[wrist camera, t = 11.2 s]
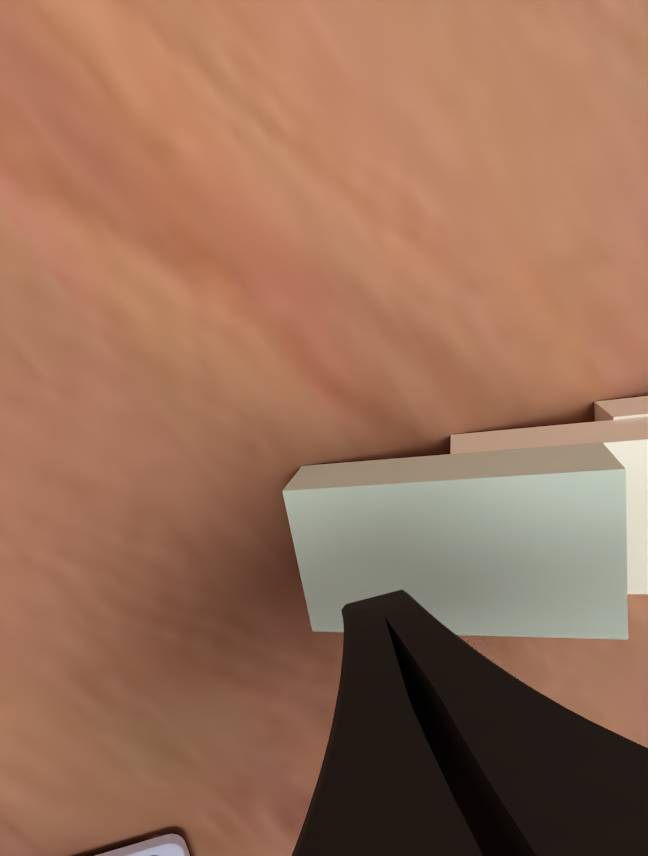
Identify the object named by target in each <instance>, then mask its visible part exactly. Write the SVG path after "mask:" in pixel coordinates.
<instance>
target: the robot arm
mask: <svg viewBox="0 0 648 856" xmlns="http://www.w3.org/2000/svg"><path fill="white" fill-rule="evenodd" d="M341 612H342V617H343V624H344V645H343V659H342V668H341V677H340V685H339V691H338V696H337V702H336V707H335V713H334V718H333V723H332V728H331V732H330V736H329V741H328V745H327V749H326V753H325V756H324V760H323V764H322V767H321V771H320V774H319V778H318V781H317V784H316V787H315V791H314V794H313V797H312V800H311V803H310V806H309V809H308V812H307V815H306V818H305V821H304V824H303V827H302V830H301V833H300V835H299V838H298V841H297V844H296V846H295V849H294V851H293V854H292V856H648V748H646V747H644V746H641V745H639V744H637V743H635V742H633V741H631V740H629V739H627V738H625V737H623V736H621V735H618V734H616V733H614V732H612V731H610V730H608V729H606V728H604V727H602V726H600V725H598V724H596V723H593V722H591V721H589V720H587V719H586V718H584V717H582V716H580V715H578V714H576V713H574V712H572V711H570V710H568V709H567V708H565V707H563V706H561V705H560V704H558V703H556V702H554V701H553V700H551V699H549V698H548V697H546V696H544V695H542V694H541V693H539V692H537V691H536V690H534V689H533V688H531V687H529V686H528V685H526V684H525V683H523V682H521V681H520V680H518V679H517V678H515V677H514V676H512V675H511V674H509V673H508V672H506V671H505V670H503V669H502V668H500V667H499V666H498V665H496V664H495V663H493V662H492V661H490V660H489V659H487V658H486V657H485V656H483V655H482V654H481V653H479V652H478V651H476V650H475V649H474V648H473V647H471V646H470V645H469V644H467V643H466V642H465V641H463V640H462V639H461V638H460V637H458V636H457V635H456V634H454V633H453V632H452V631H451V630H449V629H448V628H447V627H446V626H444V625H443V624H442V623H441V622H440V621H438V620H437V619H436V618H435V617H434V616H433V615H431V614H430V613H429V612H428V611H427V610H426V609H425V608H423V607H422V606H421V605H420V604H419V603H418V602H417V601H416V600H415V599H414V598H413V597H411V596H410V595H409V594H408V593H407V592H405V591H404V590H398V591H394V592H390V593H387V594H383V595H379V596H375V597H371V598H367V599H364V600H360V601H356V602H352V603H348V604H345V606H344V607H343V608H342V610H341ZM95 856H190V854H189V851H188V849H187V846H186V843H185V841H184V839H183V838H182V837H181V836H179V835H177V834H166V835H163V836H160V837H156V838H153V839H149V840H146V841H143V842H139V843H136V844H132V845H129V846H126V847H122V848H119V849H115V850H112V851H108V852H105V853H102V854H98V855H95Z"/></svg>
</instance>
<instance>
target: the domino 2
mask: <svg viewBox="0 0 648 856" xmlns="http://www.w3.org/2000/svg"><path fill="white" fill-rule="evenodd" d="M597 442H602V443H603V444H604V445H605V446H606V447H607V448H608V449H609V451H610V452H611V453H612V454H613V455H614V456H615V457H616V458H617V460H618V461H619V462H620V463H621V464H622V465H623V466H624V468H625V469H626V526H627V594H648V417H639V418H628V419H617V420H606V421H596V422H585V423H574V424H563V425H552V426H541V427H530V428H519V429H508V430H497V431H487V432H476V433H465V434H454V435H451V446H450V454H458V453H471V452H483V451H496V450H508V449H521V448H534V447H546V446H559V445H571V444H584V443H597Z"/></svg>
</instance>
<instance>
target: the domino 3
mask: <svg viewBox="0 0 648 856" xmlns="http://www.w3.org/2000/svg"><path fill="white" fill-rule="evenodd" d="M594 407H595V422H596V421H606V420H617V419H628V418H639V417H648V396H642V397H632V398H623V399H614V400H605V401H596V402H594Z"/></svg>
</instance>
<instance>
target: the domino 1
mask: <svg viewBox="0 0 648 856" xmlns="http://www.w3.org/2000/svg"><path fill="white" fill-rule="evenodd" d="M282 492H283V497H284V502H285V506H286V511H287V516H288V520H289V525H290V530H291V534H292V539H293V544H294V548H295V553H296V558H297V562H298V567H299V572H300V576H301V581H302V586H303V590H304V595H305V600H306V604H307V609H308V613H309V618H310V623H311V627H312V631H316V632H344V624H343V617H342V612H341V610H342V608H343V607H344V606H345V604H348V603H352V602H356V601H360V600H364V599H367V598H371V597H375V596H379V595H383V594H387V593H390V592H394V591H398V590H404V591H405V592H407V593H408V594H409V595H410V596H411V597H413V598H414V599H415V600H416V601H417V602H418V603H419V604H420V605H421V606H422V607H423V608H425V609H426V610H427V611H428V612H429V613H430V614H431V615H433V616H434V617H435V618H436V619H437V620H438V621H440V622H441V623H442V624H443V625H444V626H446V627H447V628H448V629H449V630H451V631H452V632H453V633H454V634H456V635H473V636H513V637H552V638H591V639H628V594H627V526H626V469H625V468H624V466H623V465H622V464H621V463H620V462H619V461H618V460H617V458H616V457H615V456H614V455H613V454H612V453H611V452H610V451H609V449H608V448H607V447H606V446H605V445H604V444H603V443H602V442H597V443H584V444H571V445H559V446H546V447H534V448H521V449H508V450H496V451H483V452H471V453H458V454H445V455H433V456H420V457H408V458H395V459H382V460H370V461H357V462H345V463H332V464H319V465H307V466H302V467H301V468H300V469H299V470H298V472H297V473H296V474H295V475H294V477H293V478H292V479H291V480H290V482H289V483H288V484H287V486H286V487H285V488H284V489H283V491H282Z"/></svg>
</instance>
